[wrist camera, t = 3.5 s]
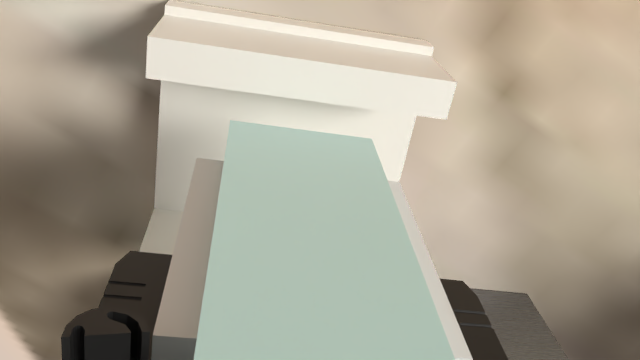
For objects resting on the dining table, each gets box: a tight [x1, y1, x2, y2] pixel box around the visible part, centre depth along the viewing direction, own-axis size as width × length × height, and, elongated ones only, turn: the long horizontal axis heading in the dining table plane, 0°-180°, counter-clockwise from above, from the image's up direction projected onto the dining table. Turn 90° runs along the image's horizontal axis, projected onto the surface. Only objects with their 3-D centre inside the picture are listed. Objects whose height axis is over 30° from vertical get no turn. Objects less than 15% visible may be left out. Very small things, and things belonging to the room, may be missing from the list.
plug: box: [194, 120, 455, 360], centre depth 12 cm, size 4×4×11 cm
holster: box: [139, 0, 457, 255], centre depth 20 cm, size 9×9×4 cm
